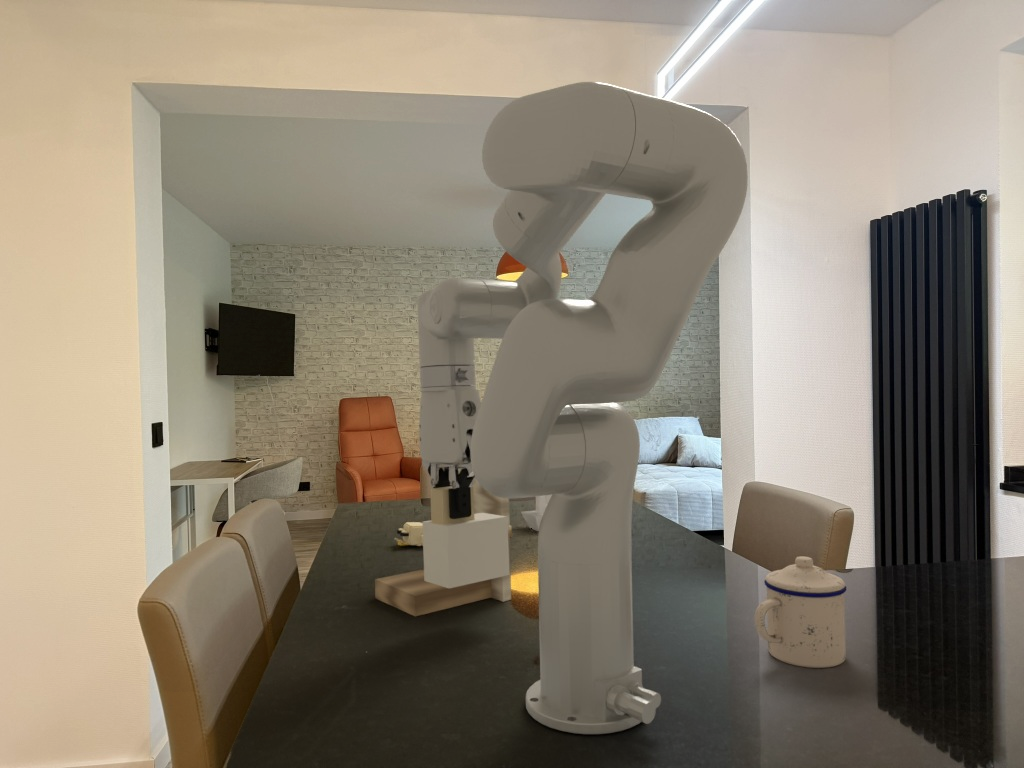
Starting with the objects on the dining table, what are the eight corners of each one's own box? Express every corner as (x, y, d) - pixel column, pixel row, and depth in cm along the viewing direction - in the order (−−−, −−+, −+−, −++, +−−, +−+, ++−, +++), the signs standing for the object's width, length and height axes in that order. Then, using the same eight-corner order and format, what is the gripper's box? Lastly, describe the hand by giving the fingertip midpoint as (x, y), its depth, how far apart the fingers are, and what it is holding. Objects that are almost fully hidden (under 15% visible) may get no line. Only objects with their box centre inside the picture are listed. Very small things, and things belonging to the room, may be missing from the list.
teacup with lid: (805, 637, 92) (803, 546, 92) (865, 661, 84) (863, 561, 84) (730, 652, 87) (728, 556, 87) (787, 680, 79) (785, 574, 79)
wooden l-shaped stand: (511, 599, 111) (508, 456, 111) (426, 621, 101) (423, 465, 101) (446, 576, 125) (443, 450, 125) (366, 594, 115) (363, 457, 115)
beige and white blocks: (509, 574, 99) (506, 483, 99) (449, 588, 93) (445, 491, 93) (483, 568, 104) (480, 481, 104) (424, 580, 97) (421, 488, 98)
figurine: (538, 533, 159) (536, 466, 159) (519, 526, 168) (517, 462, 168) (566, 530, 162) (564, 464, 163) (546, 523, 171) (544, 460, 171)
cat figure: (497, 537, 163) (389, 540, 153) (500, 499, 163) (392, 499, 153) (515, 546, 154) (401, 549, 144) (517, 505, 154) (404, 505, 144)
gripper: (506, 377, 94) (512, 518, 93) (438, 383, 106) (442, 507, 106) (459, 377, 89) (464, 526, 88) (393, 383, 102) (398, 514, 101)
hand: (452, 515), depth 97 cm, fingers closed on beige and white blocks, 3 cm apart
